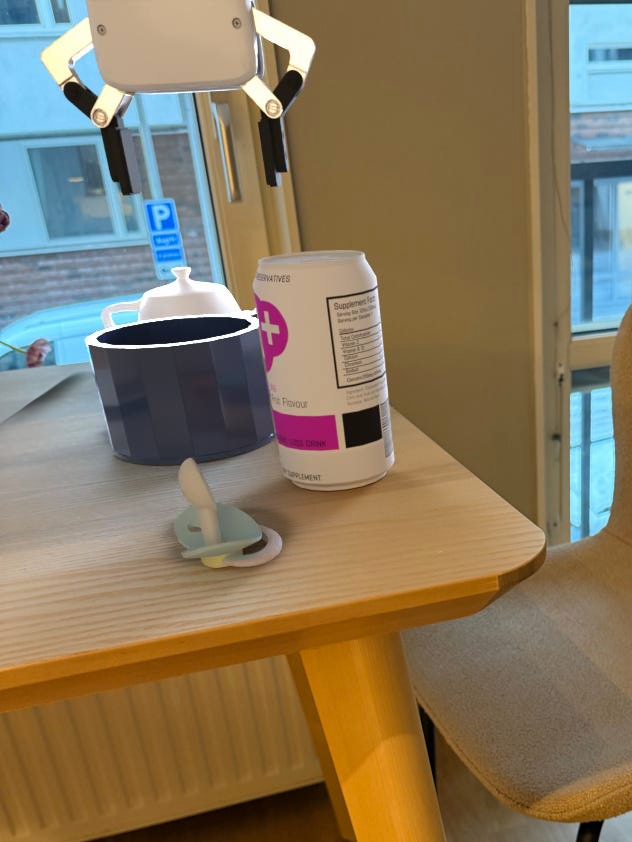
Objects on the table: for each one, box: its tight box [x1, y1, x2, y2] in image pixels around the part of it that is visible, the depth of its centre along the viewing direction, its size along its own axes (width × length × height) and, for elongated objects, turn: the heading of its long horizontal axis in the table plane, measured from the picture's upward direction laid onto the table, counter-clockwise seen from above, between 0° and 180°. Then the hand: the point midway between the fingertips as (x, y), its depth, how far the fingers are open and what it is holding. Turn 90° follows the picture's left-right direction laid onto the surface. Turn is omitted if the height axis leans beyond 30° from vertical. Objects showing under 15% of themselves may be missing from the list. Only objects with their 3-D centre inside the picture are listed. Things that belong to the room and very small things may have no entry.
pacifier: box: [173, 458, 284, 569], centre depth 54 cm, size 7×6×6 cm
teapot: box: [100, 266, 256, 330], centre depth 106 cm, size 20×12×10 cm, turn 102°
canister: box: [84, 315, 277, 466], centre depth 76 cm, size 14×14×9 cm
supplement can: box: [252, 249, 395, 492], centre depth 65 cm, size 8×8×15 cm
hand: (204, 190), depth 63 cm, fingers open, 9 cm apart
